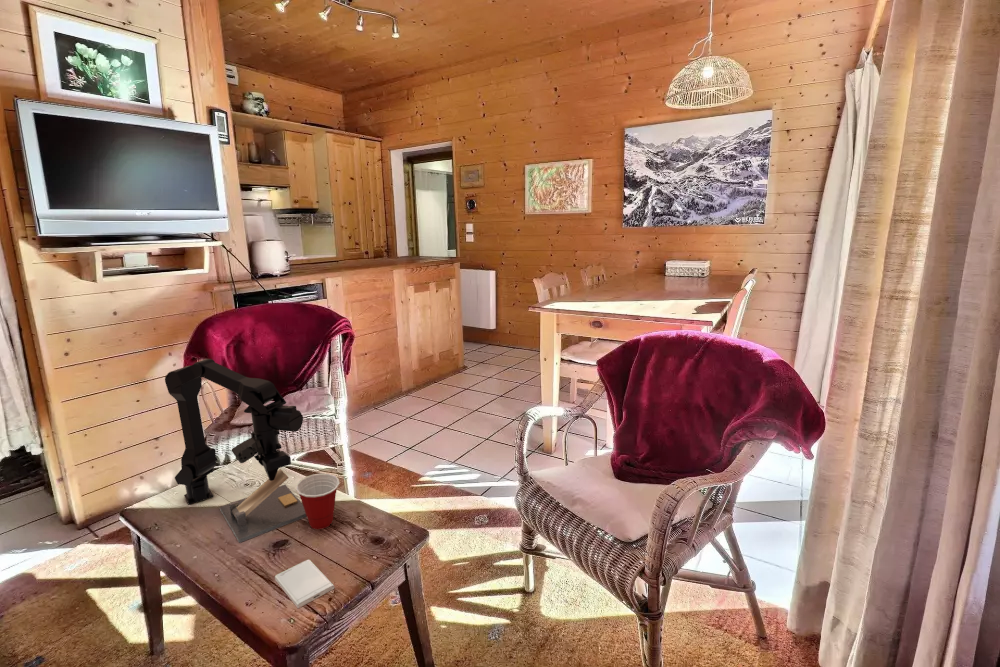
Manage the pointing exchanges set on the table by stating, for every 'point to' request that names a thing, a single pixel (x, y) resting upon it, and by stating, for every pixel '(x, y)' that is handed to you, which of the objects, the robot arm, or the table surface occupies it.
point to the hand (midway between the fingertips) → (271, 479)
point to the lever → (260, 494)
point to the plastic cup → (318, 498)
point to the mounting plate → (264, 514)
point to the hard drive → (303, 583)
